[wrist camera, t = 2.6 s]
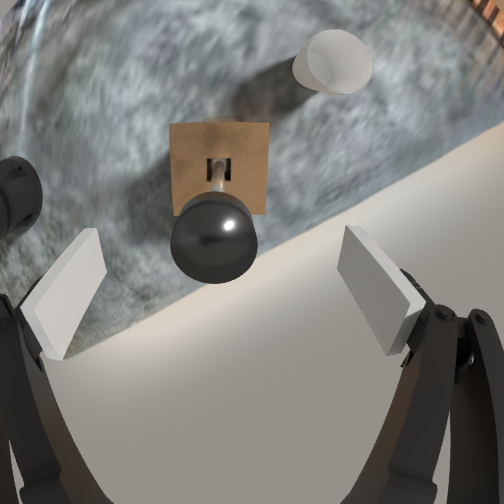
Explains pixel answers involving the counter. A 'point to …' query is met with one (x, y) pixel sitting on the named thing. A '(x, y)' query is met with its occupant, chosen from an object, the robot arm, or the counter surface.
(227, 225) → the plunger
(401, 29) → the counter surface
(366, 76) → the cup
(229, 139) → the block
